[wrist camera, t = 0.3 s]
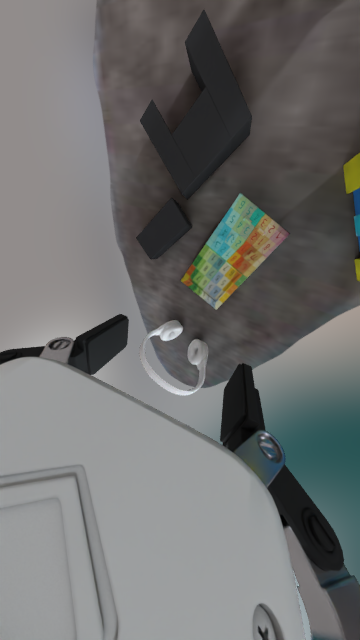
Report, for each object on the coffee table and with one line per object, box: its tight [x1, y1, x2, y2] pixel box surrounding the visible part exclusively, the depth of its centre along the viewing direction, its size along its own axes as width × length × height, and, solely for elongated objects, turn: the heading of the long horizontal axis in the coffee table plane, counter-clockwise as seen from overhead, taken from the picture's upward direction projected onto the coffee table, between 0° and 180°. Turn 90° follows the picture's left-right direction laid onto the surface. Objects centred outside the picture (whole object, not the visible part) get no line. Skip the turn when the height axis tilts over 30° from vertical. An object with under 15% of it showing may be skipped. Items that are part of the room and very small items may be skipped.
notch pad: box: [140, 10, 252, 200], centre depth 26 cm, size 14×14×4 cm
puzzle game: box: [181, 193, 290, 310], centre depth 33 cm, size 12×5×20 cm
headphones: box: [139, 320, 208, 395], centre depth 39 cm, size 7×18×20 cm, turn 56°
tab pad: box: [136, 198, 192, 259], centre depth 35 cm, size 12×6×4 cm, turn 127°
